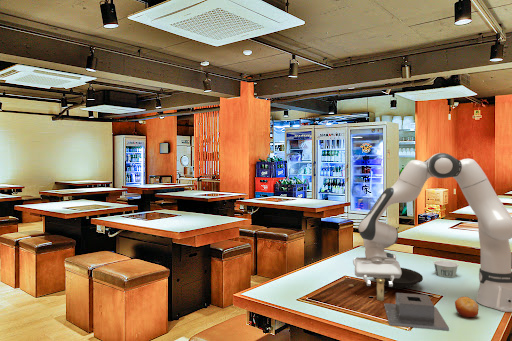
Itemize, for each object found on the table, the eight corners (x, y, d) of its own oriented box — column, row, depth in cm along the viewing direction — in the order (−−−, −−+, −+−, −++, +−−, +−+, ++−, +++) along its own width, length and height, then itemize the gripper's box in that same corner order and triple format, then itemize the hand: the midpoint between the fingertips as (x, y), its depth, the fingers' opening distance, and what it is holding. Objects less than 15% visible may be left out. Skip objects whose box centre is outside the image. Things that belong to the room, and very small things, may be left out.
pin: (384, 298, 166) (384, 278, 166) (385, 301, 162) (385, 280, 162) (375, 297, 167) (375, 277, 167) (376, 300, 163) (376, 280, 163)
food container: (452, 272, 206) (452, 260, 206) (462, 279, 194) (462, 266, 194) (429, 272, 207) (430, 260, 207) (438, 278, 195) (438, 265, 195)
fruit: (467, 306, 153) (473, 293, 148) (477, 323, 146) (484, 309, 142) (447, 306, 152) (453, 293, 148) (457, 323, 146) (463, 310, 141)
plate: (429, 296, 168) (429, 284, 168) (373, 293, 173) (373, 281, 172) (415, 278, 195) (415, 267, 195) (367, 275, 200) (367, 265, 200)
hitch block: (436, 309, 153) (436, 292, 153) (449, 330, 133) (449, 311, 133) (384, 305, 158) (384, 288, 157) (389, 325, 138) (389, 306, 138)
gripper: (353, 253, 174) (356, 281, 164) (399, 255, 171) (405, 283, 162) (352, 260, 178) (354, 288, 169) (396, 262, 176) (402, 289, 166)
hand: (379, 285), depth 165 cm, fingers open, 8 cm apart
